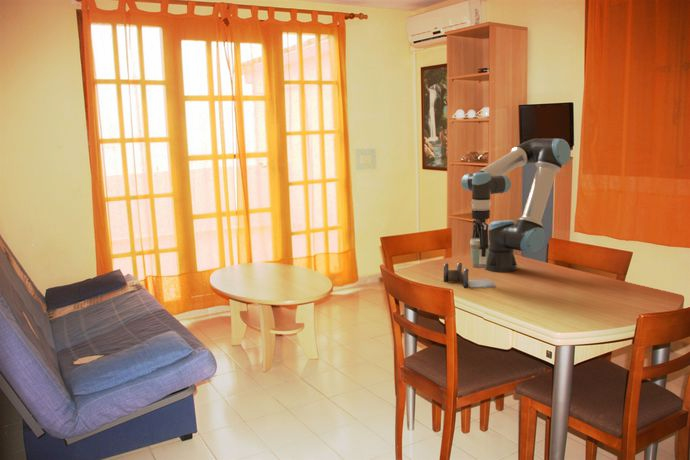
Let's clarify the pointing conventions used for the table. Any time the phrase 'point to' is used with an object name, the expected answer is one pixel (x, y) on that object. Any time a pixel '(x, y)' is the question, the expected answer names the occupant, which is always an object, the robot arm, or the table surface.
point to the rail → (456, 275)
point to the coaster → (480, 284)
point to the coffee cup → (477, 253)
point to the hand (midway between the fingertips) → (479, 261)
